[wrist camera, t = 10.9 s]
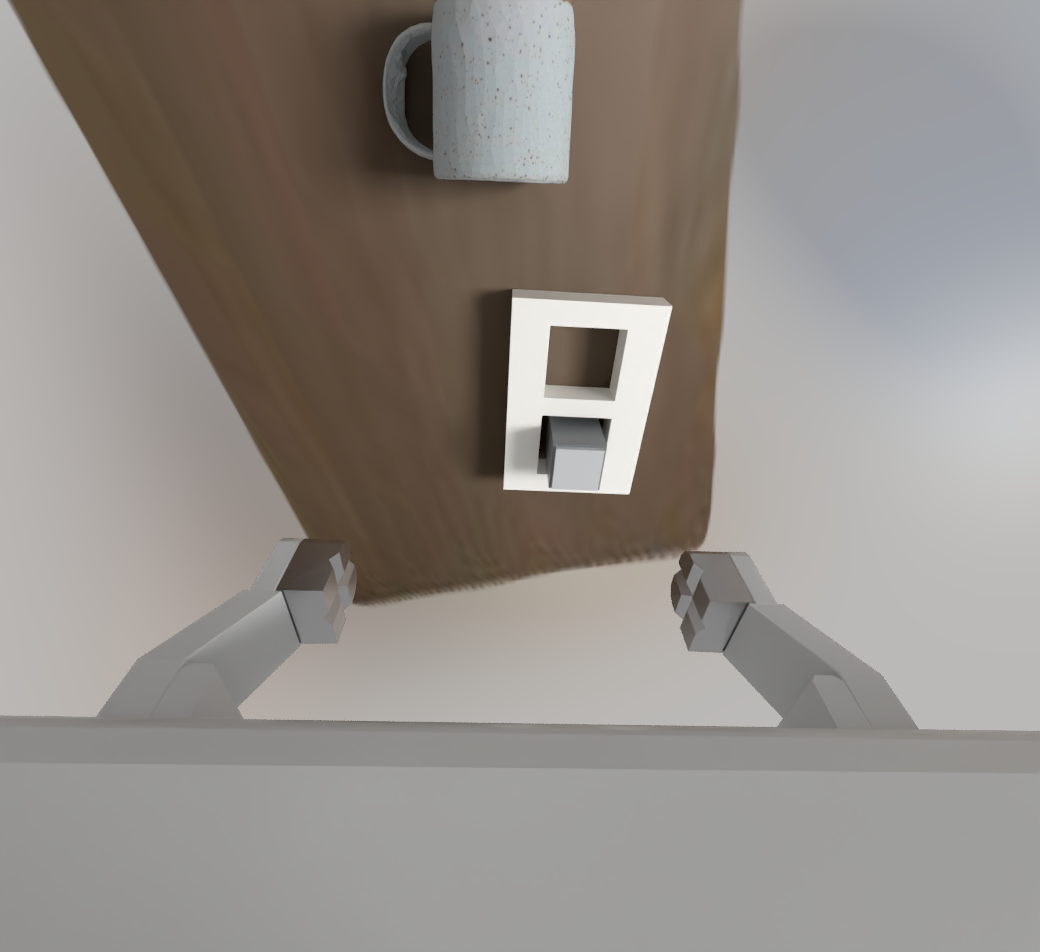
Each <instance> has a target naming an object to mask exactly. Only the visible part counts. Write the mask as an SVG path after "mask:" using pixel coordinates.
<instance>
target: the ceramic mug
mask: <svg viewBox="0 0 1040 952" xmlns="http://www.w3.org/2000/svg"><path fill="white" fill-rule="evenodd" d="M430 40H431V47H432V71H433V150H431V149H429V148H427V147H425V146H424V145H422V144H421V143H419V142H418V141H417V140H416V139H415V137H414V136H413V135H412V133H411V132H410V130H409V128H408V125H407V120H406V118H405V80H406V77H407V70H406V64H407V61H408V59H409V57H410V56H411V54H412V53H413V52H414V50H415V49H416V48H417V47H418V46H420V45H421V44H425V43H426V42H427V41H430ZM574 58H575V30H574V13H573V8H572V3H571V1H570V0H435V4H434V9H433V19H432V23H430V22H428V23H419V24H417V25H415V26H411V27H409V28H408V29H406V30H405V31H404V32H402V33H401V34H400V35H399V36H398V37H397V38H396V40H395V41H394V43H393V45H392V46H391V48H390V51H389V53H388V55H387V58H386V62H385V67H384V75H383V100H384V108H385V113H386V116H387V119H388V122H389V124H390V126H391V128H392V130H393V132H394V133H395V134H396V136H397V137H398V138H399V140H400V141H401V142H402V143H403V144H404V145H405V146H406V147H407V148H408V149H410V150H411V151H413V152H414V153H416V154H418V155H419V156H422V157H425V158H427V159H430V160H433V168H434V176H435V177H436V178H437V179H456V180H477V181H483V180H486V181H498V182H517V183H519V182H523V183H546V184H564V183H566V182H567V179H568V170H569V148H570V133H571V115H572V87H573V72H574Z"/></svg>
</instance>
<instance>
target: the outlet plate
mask: <svg viewBox="0 0 1040 952" xmlns="http://www.w3.org/2000/svg"><path fill="white" fill-rule="evenodd" d="M671 310H672V306H671V305H670V304H669V303H668V302H667V301H666V300H665V299H664V298H663V297H646V296H629V295H611V294H594V293H576V292H559V291H541V290H524V289H512V309H511V331H510V353H509V375H508V397H507V419H506V441H505V463H504V489H508V490H533V491H558V492H583V493H608V494H629V493H630V489H631V485H632V480H633V476H634V472H635V467H636V463H637V458H638V454H639V450H640V445H641V441H642V437H643V432H644V428H645V424H646V419H647V415H648V411H649V406H650V402H651V397H652V393H653V389H654V384H655V380H656V376H657V371H658V367H659V363H660V358H661V354H662V349H663V345H664V341H665V336H666V332H667V328H668V323H669V319H670V315H671ZM550 326H567V327H586V328H604V329H620V331H619V336H618V342H617V348H616V354H615V360H614V365H613V371H612V377H611V383H610V388H598V387H577V386H557V385H545V379H546V368H547V357H548V346H549V335H550ZM542 416H564V417H586V418H604V423H603V429H602V432H603V435H604V438H605V441H606V444H607V450H606V455H605V460H604V466H603V471H602V477H601V482H600V488H599V490H598V491H591V490H566V489H552V488H549V487H548V477H547V467H546V459H541V458H538V455H539V444H540V433H541V422H542Z"/></svg>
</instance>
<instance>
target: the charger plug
mask: <svg viewBox="0 0 1040 952" xmlns="http://www.w3.org/2000/svg"><path fill="white" fill-rule="evenodd" d="M606 450H607V444H606V441H605V438H604V435H603V432H602V429H601V426H600V422H599V419H598V418H586V417H564V416H548V425H547V435H546V445H545V458H546V467H547V477H548V487H549V488H552V489H566V490H591V491H598V490H599V488H600V482H601V477H602V471H603V466H604V460H605V455H606Z"/></svg>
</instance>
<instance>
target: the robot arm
mask: <svg viewBox="0 0 1040 952" xmlns="http://www.w3.org/2000/svg"><path fill="white" fill-rule="evenodd" d="M351 553H352V551H351V547H350V543H349V542H347V541H340V540H322V539H294V538H283V539H281V540H280V541H279V542H278V543H277V544H276V546H275V548H274V550H273V551H272V553H271V555H270V557H269V558H268V560H267V562H266V563H265V565H264V567H263V568H262V570H261V572H260V574H259V575H258V577H257V579H256V580H255V582H254V584H253V586H252V587H251V589H250V590H243V591H241V592H240V593H238V594H237V595H235V596H234V597H232V598H231V599H229V600H227V601H226V602H224V603H223V604H221V605H220V606H218V607H217V608H215V609H214V610H212V611H211V612H209V613H208V614H206V615H205V616H203V617H201V618H200V619H198V620H197V621H195V622H194V623H192V624H191V625H189V626H188V627H186V628H185V629H183V630H182V631H180V632H179V633H177V634H176V635H174V636H173V637H171V638H169V639H168V640H166V641H165V642H163V643H162V644H160V645H159V646H157V647H156V648H154V649H153V650H151V651H149V652H148V653H146V654H145V655H143V656H142V657H140V658H139V659H137V661H136V662H135V663H134V665H133V666H132V668H131V669H130V670H129V672H128V673H127V675H126V676H125V677H124V679H123V680H122V681H121V683H120V684H119V686H118V687H117V688H116V690H115V691H114V693H113V694H112V695H111V697H110V698H109V700H108V701H107V702H106V704H105V705H104V707H103V708H102V710H101V711H100V712H99V713H98V715H97V716H96V717H61V716H60V717H59V716H0V952H1040V731H995V730H928V729H927V730H926V729H918V727H917V726H916V724H915V723H914V721H913V720H912V718H911V717H910V716H909V714H908V713H907V711H906V710H905V708H904V707H903V705H902V704H901V702H900V701H899V699H898V698H897V697H896V695H895V694H894V693H893V691H892V689H891V688H890V686H889V685H888V683H887V682H886V680H885V679H884V677H883V676H882V675H881V674H880V673H878V672H877V671H875V670H874V669H873V668H871V667H870V666H868V665H867V664H866V663H864V662H863V661H862V660H860V659H859V658H857V657H856V656H854V655H853V654H852V653H850V652H849V651H848V650H846V649H845V648H843V647H842V646H841V645H839V644H838V643H837V642H835V641H834V640H832V639H831V638H830V637H828V636H826V635H825V634H824V633H823V632H821V631H820V630H818V629H817V628H816V627H814V626H813V625H811V624H810V623H809V622H807V621H806V620H805V619H803V618H802V617H800V616H799V615H798V614H796V613H795V612H793V611H792V610H791V609H789V608H788V607H786V606H785V605H781V604H777V602H776V601H775V599H774V597H773V595H772V594H771V592H770V590H769V589H768V587H767V585H766V583H765V581H764V580H763V578H762V576H761V575H760V573H759V571H758V569H757V568H756V566H755V564H754V562H753V561H752V559H751V557H750V556H749V555H748V554H747V553H745V552H701V551H685V552H684V553H683V554H682V555H681V557H680V560H679V565H680V567H681V570H680V571H679V572H678V573H676V574H675V575H674V577H673V580H672V584H671V600H672V605H673V607H674V611H675V613H676V614H678V615H679V616H680V617H681V618H682V619H683V621H682V624H681V627H680V629H681V631H682V634H683V637H684V640H685V643H686V646H687V649H688V651H697V652H717V653H723V655H724V656H725V657H726V658H727V659H728V660H729V662H730V663H731V664H732V665H733V666H734V667H735V668H736V669H737V670H738V671H739V672H740V673H741V674H742V675H743V676H744V677H745V678H746V679H747V681H748V682H749V683H750V684H751V685H752V686H753V687H754V688H755V689H756V690H757V691H758V692H759V693H760V694H761V695H762V696H763V697H764V698H765V699H766V701H767V702H768V703H769V704H770V705H771V706H772V707H773V708H774V709H775V710H776V711H777V712H778V713H779V714H780V715H781V716H782V717H783V719H782V721H781V722H780V723H779V725H778V726H777V727H727V726H725V727H724V726H660V725H657V726H656V725H655V726H652V725H589V724H588V725H587V724H521V723H520V724H517V723H455V722H451V723H449V722H386V721H381V722H380V721H321V720H319V721H318V720H316V721H315V720H256V719H254V720H253V719H252V720H251V719H243V717H242V715H241V714H240V712H239V710H238V708H237V707H238V706H239V705H240V704H241V703H242V702H243V701H244V700H245V699H246V698H247V697H248V696H249V695H250V694H251V693H252V692H253V691H254V690H255V689H256V688H258V687H259V686H260V685H261V684H262V683H263V682H264V681H265V680H266V679H267V678H268V677H269V676H270V675H271V674H272V673H273V672H274V671H275V670H276V669H277V668H278V667H279V666H280V665H281V664H282V663H283V662H284V661H285V660H286V659H287V658H288V657H289V656H290V655H291V654H292V653H293V652H294V651H295V650H296V649H298V647H300V644H303V643H304V644H308V643H309V644H314V643H338V641H339V638H340V635H341V632H342V629H343V626H344V624H345V621H346V617H345V613H344V609H346V608H347V607H348V606H349V605H351V603H352V600H353V597H354V594H355V587H356V570H355V566H354V565H353V564H352V563H351V562H350V561H349V559H350V556H351Z"/></svg>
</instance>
